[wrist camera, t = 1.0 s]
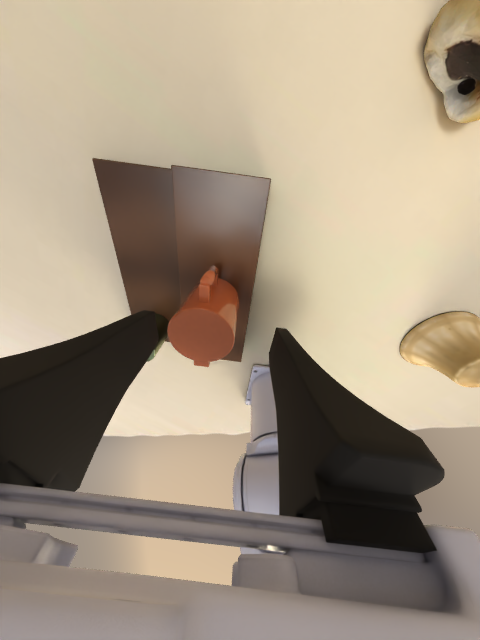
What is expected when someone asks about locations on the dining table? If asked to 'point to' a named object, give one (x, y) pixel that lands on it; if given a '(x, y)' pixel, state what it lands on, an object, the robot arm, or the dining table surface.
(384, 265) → the dining table surface
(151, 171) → the step shelf
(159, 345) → the tin
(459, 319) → the hand bell
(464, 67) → the pastry
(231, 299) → the jug
